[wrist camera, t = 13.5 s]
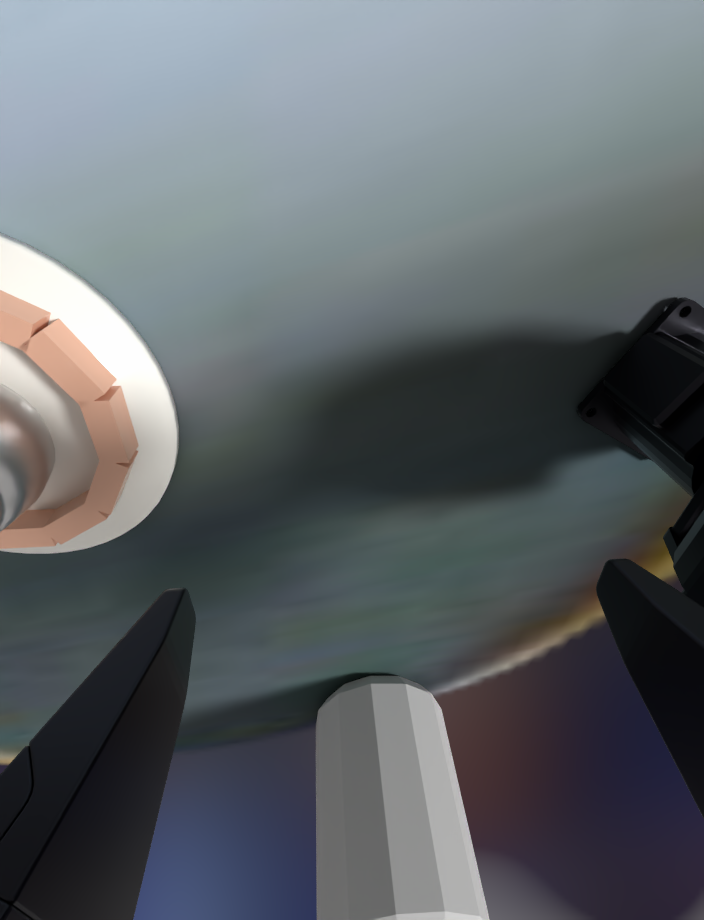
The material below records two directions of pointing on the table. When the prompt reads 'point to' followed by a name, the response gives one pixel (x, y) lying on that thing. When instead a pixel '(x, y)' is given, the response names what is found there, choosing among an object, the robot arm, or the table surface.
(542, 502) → the table surface
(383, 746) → the jar
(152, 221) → the table surface
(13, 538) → the white orange plate
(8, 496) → the plastic bottle
